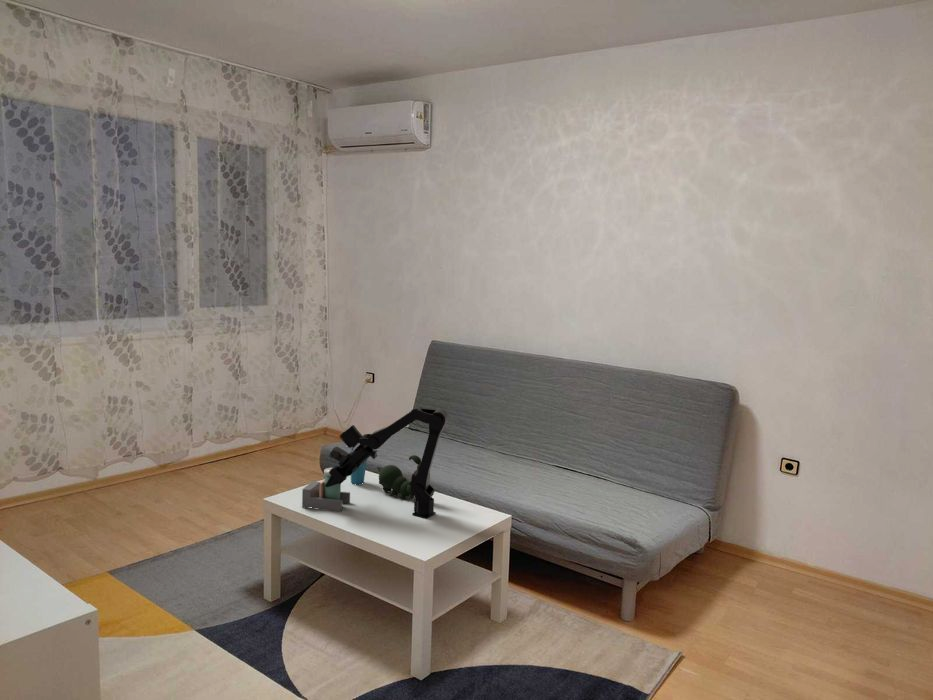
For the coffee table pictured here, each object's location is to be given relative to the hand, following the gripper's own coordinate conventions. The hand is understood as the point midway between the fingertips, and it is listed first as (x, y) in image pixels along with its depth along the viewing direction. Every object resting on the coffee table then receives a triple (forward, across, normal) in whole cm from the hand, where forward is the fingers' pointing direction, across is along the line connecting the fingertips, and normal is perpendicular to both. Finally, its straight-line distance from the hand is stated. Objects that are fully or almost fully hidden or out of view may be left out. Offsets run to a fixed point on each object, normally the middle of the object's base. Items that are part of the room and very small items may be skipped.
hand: (329, 483), depth 252 cm
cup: (+5, -30, +7) cm, 31 cm away
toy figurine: (-10, -19, +22) cm, 31 cm away
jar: (+4, 0, +6) cm, 7 cm away
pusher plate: (+7, 0, +5) cm, 8 cm away
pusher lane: (+6, 0, +5) cm, 8 cm away
